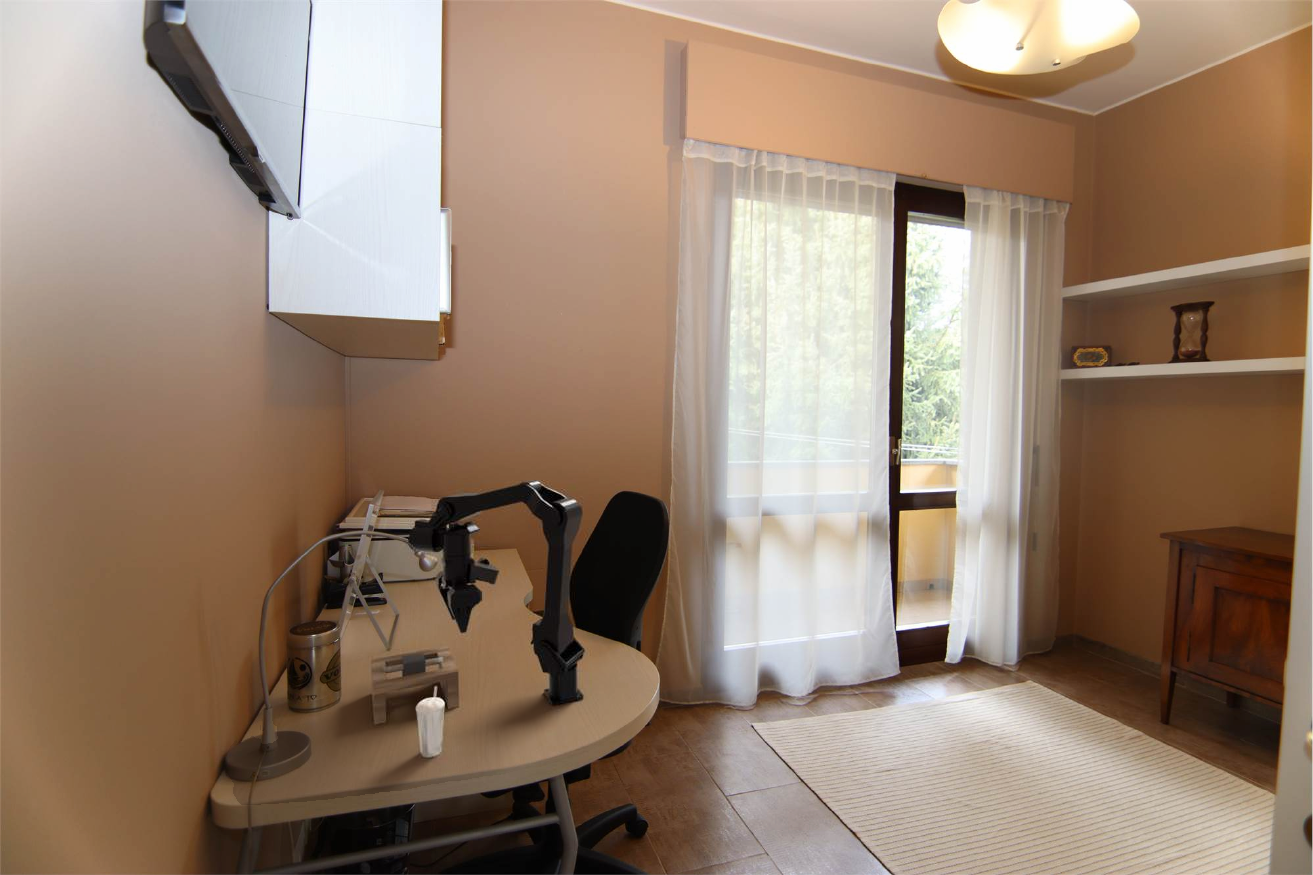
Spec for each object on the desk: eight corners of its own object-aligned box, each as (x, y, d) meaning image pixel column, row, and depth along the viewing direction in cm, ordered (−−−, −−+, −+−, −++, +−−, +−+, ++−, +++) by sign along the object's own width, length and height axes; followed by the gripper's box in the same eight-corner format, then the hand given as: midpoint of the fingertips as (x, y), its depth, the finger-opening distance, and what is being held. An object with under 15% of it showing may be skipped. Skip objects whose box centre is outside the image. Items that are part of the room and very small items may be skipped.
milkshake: (450, 742, 106) (449, 685, 106) (440, 759, 101) (439, 700, 101) (424, 742, 106) (422, 686, 106) (413, 760, 101) (411, 701, 101)
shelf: (459, 706, 119) (458, 668, 119) (374, 724, 112) (373, 684, 112) (448, 678, 132) (448, 643, 131) (371, 693, 125) (370, 656, 125)
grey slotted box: (425, 683, 121) (425, 660, 121) (404, 688, 119) (403, 664, 119) (423, 676, 125) (423, 652, 124) (402, 680, 123) (401, 656, 123)
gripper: (506, 557, 126) (508, 632, 126) (485, 541, 142) (486, 607, 143) (449, 564, 120) (452, 643, 121) (434, 546, 137) (436, 615, 138)
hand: (459, 625), depth 131 cm, fingers open, 9 cm apart
